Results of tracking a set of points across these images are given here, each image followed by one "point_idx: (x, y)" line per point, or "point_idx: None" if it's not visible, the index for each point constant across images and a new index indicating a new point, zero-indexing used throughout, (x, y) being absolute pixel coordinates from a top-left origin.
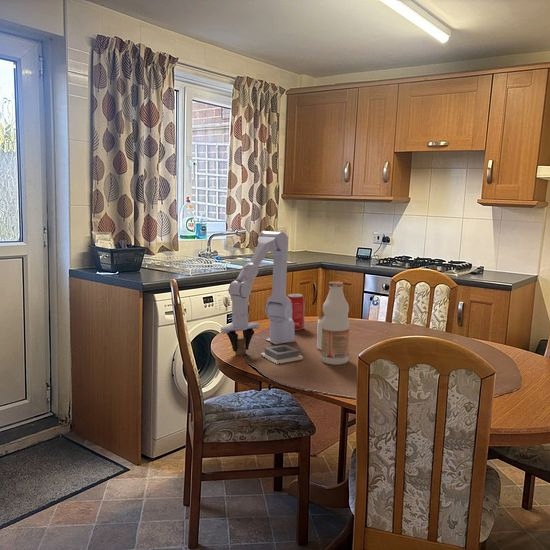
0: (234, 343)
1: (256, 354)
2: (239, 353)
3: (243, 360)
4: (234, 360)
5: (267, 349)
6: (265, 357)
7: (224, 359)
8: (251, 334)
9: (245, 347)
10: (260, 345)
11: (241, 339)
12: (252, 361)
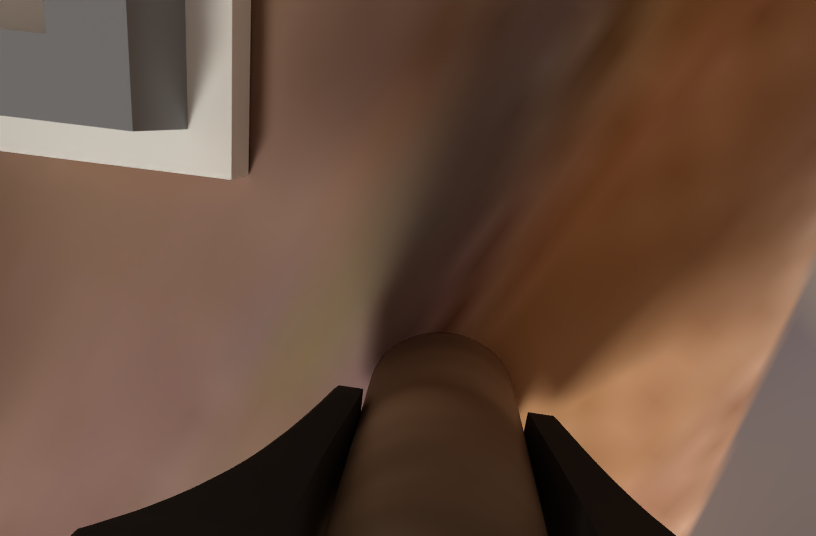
0: (637, 503)
1: (268, 269)
2: (498, 370)
3: (581, 150)
4: (682, 233)
5: (124, 8)
6: (246, 22)
7: (753, 354)
8: (177, 529)
9: (389, 399)
10: (53, 519)
11: (466, 533)
12: (505, 16)
